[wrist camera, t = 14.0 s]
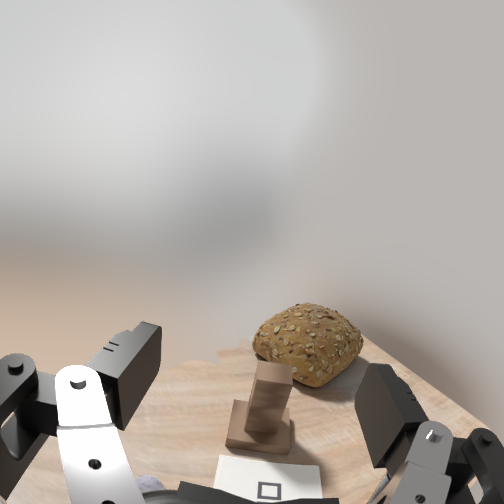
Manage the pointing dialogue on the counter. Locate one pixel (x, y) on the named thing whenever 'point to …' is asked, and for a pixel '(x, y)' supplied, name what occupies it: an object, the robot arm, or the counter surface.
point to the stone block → (149, 483)
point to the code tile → (267, 480)
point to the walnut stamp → (263, 412)
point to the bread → (309, 342)
